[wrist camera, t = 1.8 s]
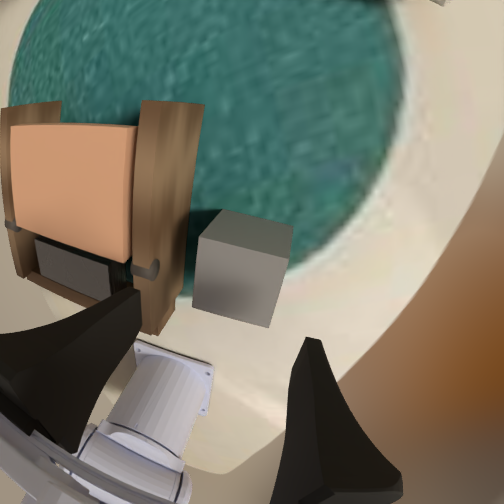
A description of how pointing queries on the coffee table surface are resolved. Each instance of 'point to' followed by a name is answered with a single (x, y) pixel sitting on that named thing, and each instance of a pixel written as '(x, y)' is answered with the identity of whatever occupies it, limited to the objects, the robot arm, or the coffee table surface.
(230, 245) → the stone
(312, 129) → the coffee table surface
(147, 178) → the frame
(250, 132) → the coffee table surface
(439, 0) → the die
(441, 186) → the coffee table surface
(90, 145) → the trapdoor
